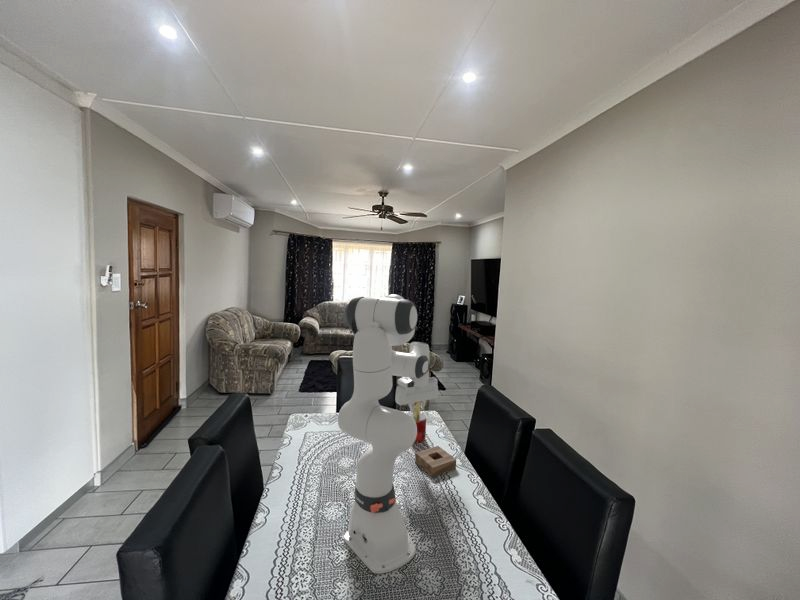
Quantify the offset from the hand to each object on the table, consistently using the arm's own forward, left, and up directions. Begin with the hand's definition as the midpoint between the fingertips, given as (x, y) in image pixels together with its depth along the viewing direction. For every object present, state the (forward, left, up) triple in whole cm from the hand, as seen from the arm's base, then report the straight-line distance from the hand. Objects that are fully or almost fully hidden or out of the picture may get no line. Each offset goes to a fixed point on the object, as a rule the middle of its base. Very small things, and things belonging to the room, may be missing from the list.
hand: (416, 411), depth 140 cm
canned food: (+13, -10, -21) cm, 27 cm away
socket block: (-9, -4, -21) cm, 23 cm away
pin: (0, 0, -4) cm, 4 cm away
